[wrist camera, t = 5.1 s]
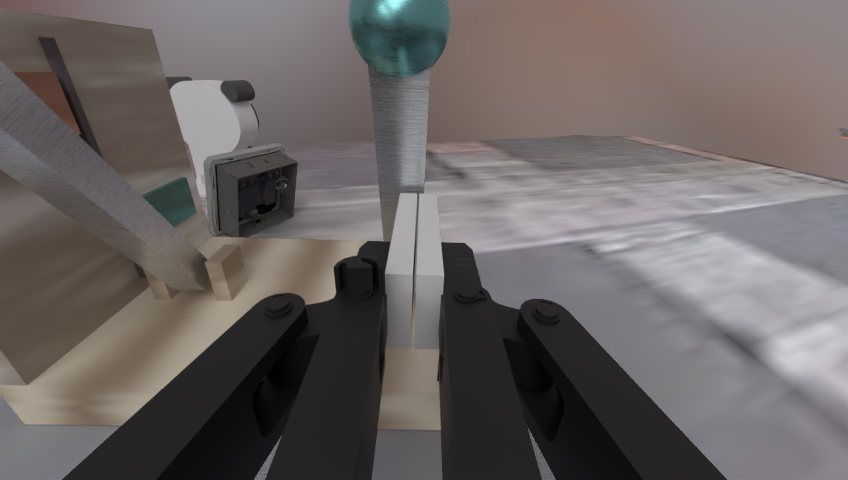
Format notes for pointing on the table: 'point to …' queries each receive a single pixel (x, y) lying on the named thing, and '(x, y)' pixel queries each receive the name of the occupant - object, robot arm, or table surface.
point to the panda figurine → (213, 118)
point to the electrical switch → (249, 189)
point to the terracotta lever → (89, 188)
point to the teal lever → (399, 89)
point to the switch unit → (121, 277)
